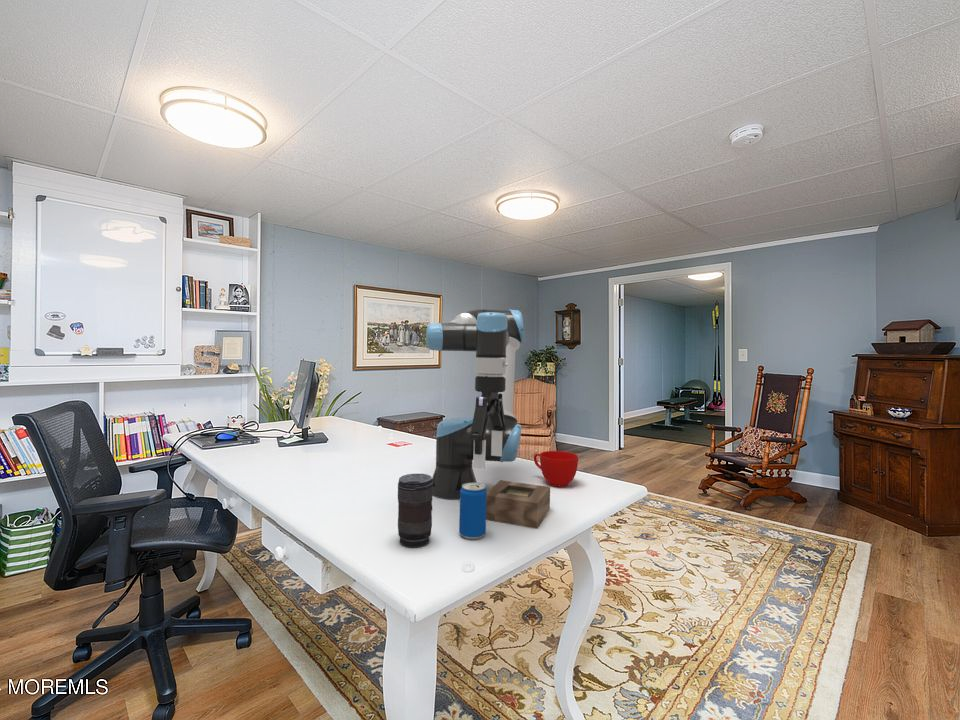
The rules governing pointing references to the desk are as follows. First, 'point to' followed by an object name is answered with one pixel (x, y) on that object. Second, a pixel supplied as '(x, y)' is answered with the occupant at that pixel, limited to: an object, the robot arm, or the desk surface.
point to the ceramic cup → (557, 467)
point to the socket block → (517, 504)
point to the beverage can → (472, 510)
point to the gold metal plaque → (517, 492)
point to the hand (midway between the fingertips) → (488, 461)
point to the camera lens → (415, 509)
